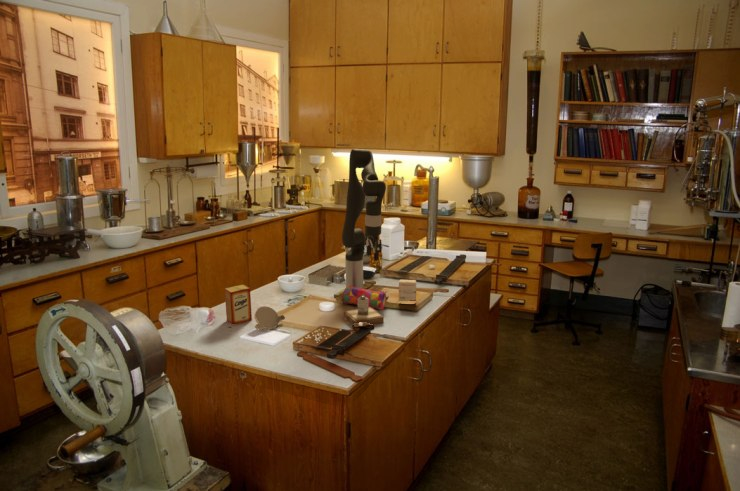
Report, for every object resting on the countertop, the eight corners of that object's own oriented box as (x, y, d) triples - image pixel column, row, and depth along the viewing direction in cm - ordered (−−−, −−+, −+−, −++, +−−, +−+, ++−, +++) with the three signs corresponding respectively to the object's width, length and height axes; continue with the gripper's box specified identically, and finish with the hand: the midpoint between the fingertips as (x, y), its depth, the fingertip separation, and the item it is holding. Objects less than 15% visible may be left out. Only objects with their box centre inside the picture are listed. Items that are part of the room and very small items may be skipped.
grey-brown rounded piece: (261, 332, 244) (251, 308, 246) (252, 337, 250) (243, 313, 251) (288, 322, 255) (278, 299, 256) (278, 327, 260) (270, 304, 262)
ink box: (416, 301, 283) (416, 279, 280) (415, 305, 278) (416, 282, 275) (398, 301, 284) (399, 278, 281) (398, 304, 279) (398, 282, 276)
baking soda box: (232, 325, 254) (230, 291, 250) (226, 320, 260) (224, 287, 255) (251, 320, 260) (249, 287, 256) (245, 316, 265) (244, 283, 261)
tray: (343, 317, 263) (343, 310, 262) (370, 312, 269) (370, 306, 268) (355, 328, 251) (355, 321, 250) (383, 322, 257) (383, 316, 256)
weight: (355, 312, 260) (355, 295, 258) (365, 310, 262) (365, 294, 260) (360, 315, 256) (360, 298, 254) (370, 314, 258) (370, 297, 256)
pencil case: (389, 305, 278) (389, 288, 276) (383, 312, 270) (383, 294, 268) (349, 299, 286) (349, 283, 284) (341, 306, 278) (341, 288, 275)
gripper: (387, 226, 252) (386, 261, 256) (374, 219, 264) (373, 252, 269) (371, 228, 249) (371, 263, 253) (359, 221, 261) (359, 254, 266)
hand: (372, 257), depth 261 cm, fingers open, 8 cm apart
